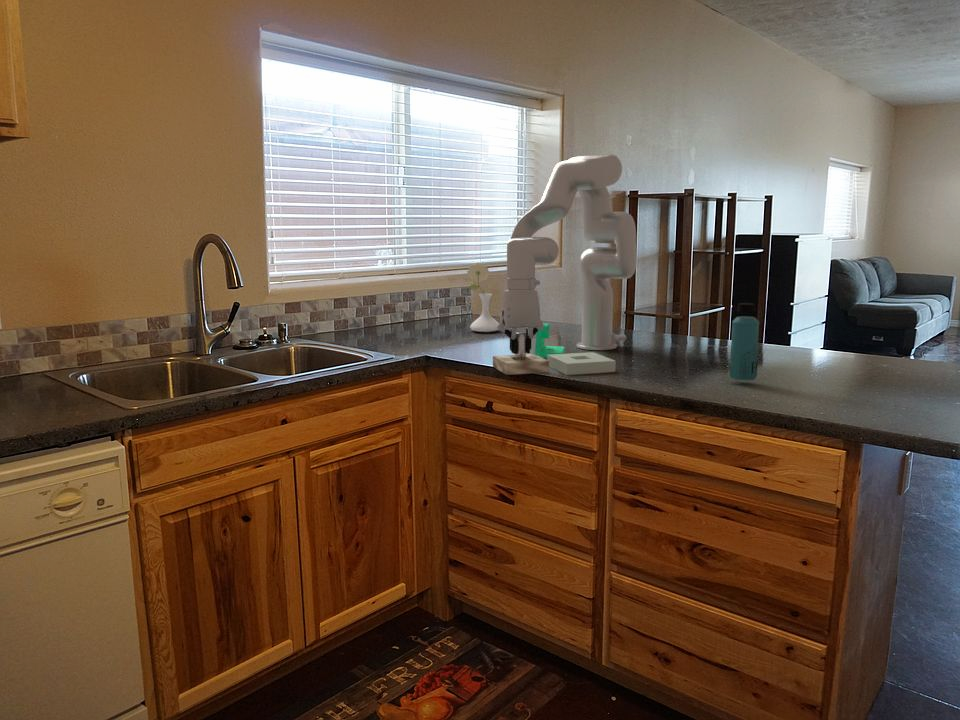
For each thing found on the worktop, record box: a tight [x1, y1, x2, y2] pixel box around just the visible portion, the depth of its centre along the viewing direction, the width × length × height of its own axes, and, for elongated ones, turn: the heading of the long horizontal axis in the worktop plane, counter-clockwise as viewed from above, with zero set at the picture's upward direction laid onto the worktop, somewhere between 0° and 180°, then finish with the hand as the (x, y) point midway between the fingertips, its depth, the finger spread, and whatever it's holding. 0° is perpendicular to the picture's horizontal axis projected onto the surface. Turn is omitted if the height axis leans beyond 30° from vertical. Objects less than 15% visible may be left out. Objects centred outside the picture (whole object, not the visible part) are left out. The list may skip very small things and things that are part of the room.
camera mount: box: [534, 323, 566, 360], centre depth 220 cm, size 12×8×10 cm, turn 169°
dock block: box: [546, 351, 617, 376], centre depth 204 cm, size 14×14×3 cm
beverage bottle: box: [728, 302, 760, 381], centre depth 183 cm, size 6×7×20 cm
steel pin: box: [514, 331, 527, 360], centre depth 203 cm, size 3×3×10 cm
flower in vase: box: [466, 262, 500, 333], centre depth 271 cm, size 13×11×25 cm
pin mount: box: [492, 353, 550, 376], centre depth 203 cm, size 12×12×3 cm
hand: (520, 352), depth 203 cm, fingers closed on steel pin, 3 cm apart
